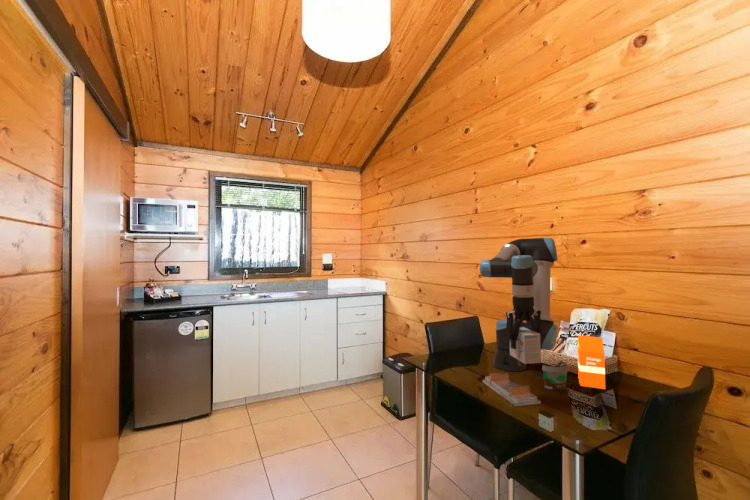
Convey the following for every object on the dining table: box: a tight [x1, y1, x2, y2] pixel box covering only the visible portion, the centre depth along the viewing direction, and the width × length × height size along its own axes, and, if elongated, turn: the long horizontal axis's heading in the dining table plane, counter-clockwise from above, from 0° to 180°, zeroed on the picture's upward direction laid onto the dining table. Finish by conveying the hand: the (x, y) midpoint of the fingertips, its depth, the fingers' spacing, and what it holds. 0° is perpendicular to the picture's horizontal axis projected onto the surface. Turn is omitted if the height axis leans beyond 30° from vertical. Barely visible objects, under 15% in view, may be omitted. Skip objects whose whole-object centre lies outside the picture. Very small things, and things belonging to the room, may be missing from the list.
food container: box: [541, 360, 570, 393], centre depth 134 cm, size 12×6×10 cm, turn 117°
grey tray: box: [482, 371, 542, 407], centre depth 132 cm, size 10×24×5 cm, turn 11°
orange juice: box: [577, 335, 606, 390], centre depth 140 cm, size 8×9×20 cm
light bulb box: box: [510, 327, 542, 365], centre depth 126 cm, size 11×7×11 cm, turn 8°
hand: (524, 356), depth 126 cm, fingers closed on light bulb box, 7 cm apart
